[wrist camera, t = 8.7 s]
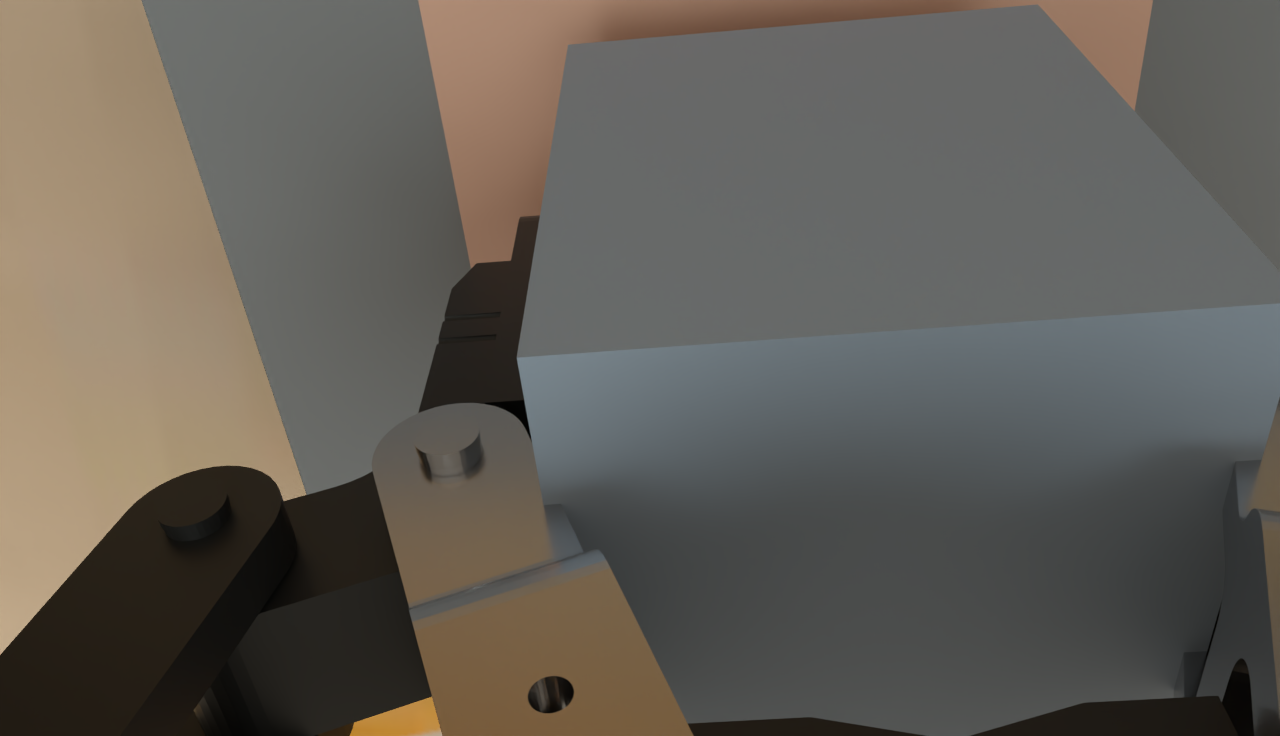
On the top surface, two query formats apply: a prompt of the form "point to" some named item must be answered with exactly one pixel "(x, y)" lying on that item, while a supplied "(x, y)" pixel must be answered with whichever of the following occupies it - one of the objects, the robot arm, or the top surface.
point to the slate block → (891, 368)
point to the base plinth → (545, 154)
